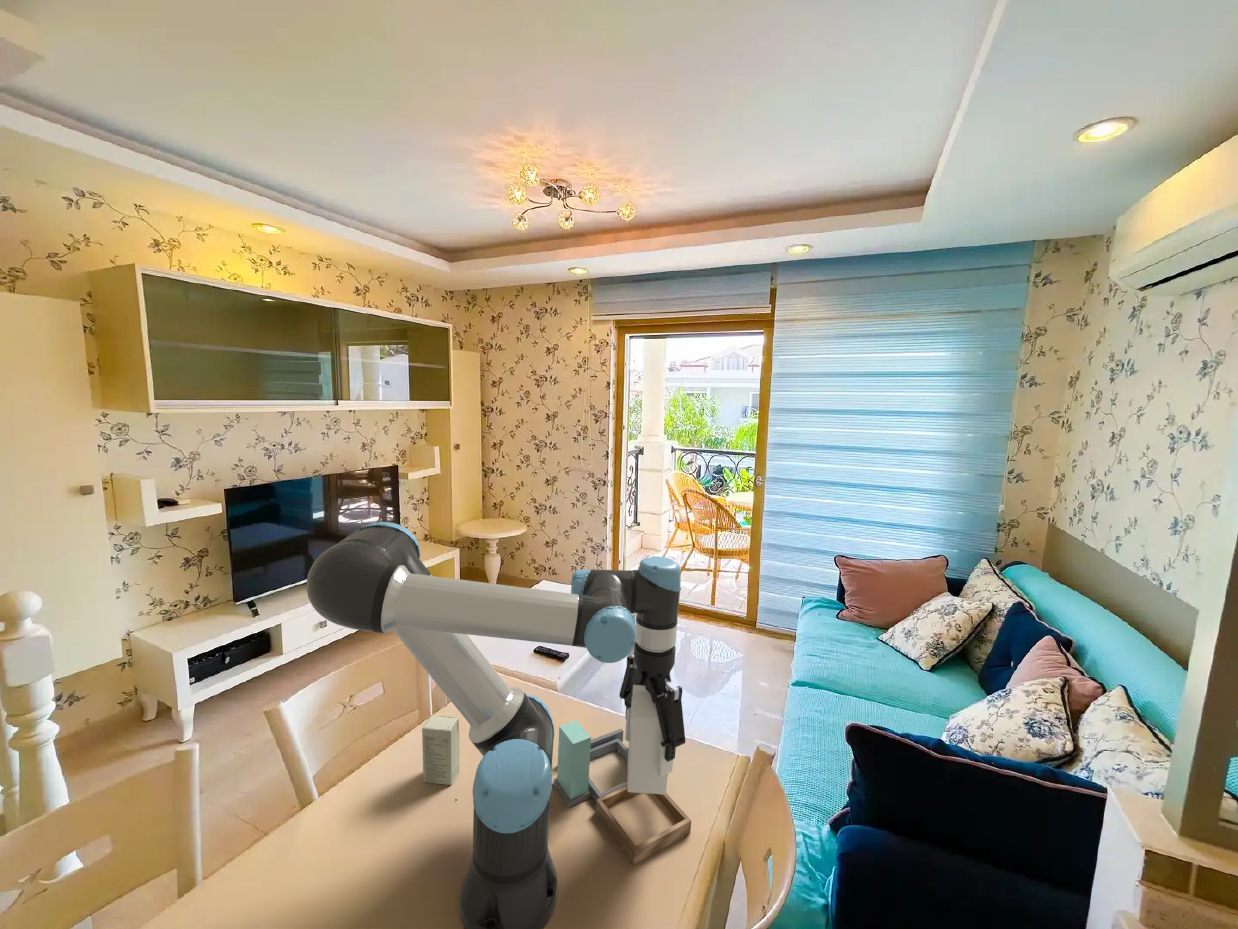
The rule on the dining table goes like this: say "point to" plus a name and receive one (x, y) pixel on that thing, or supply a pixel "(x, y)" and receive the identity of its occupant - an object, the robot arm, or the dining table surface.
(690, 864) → the dining table surface
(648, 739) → the milk carton
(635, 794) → the tray
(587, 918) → the dining table surface
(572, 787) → the holder
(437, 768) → the skincare box
